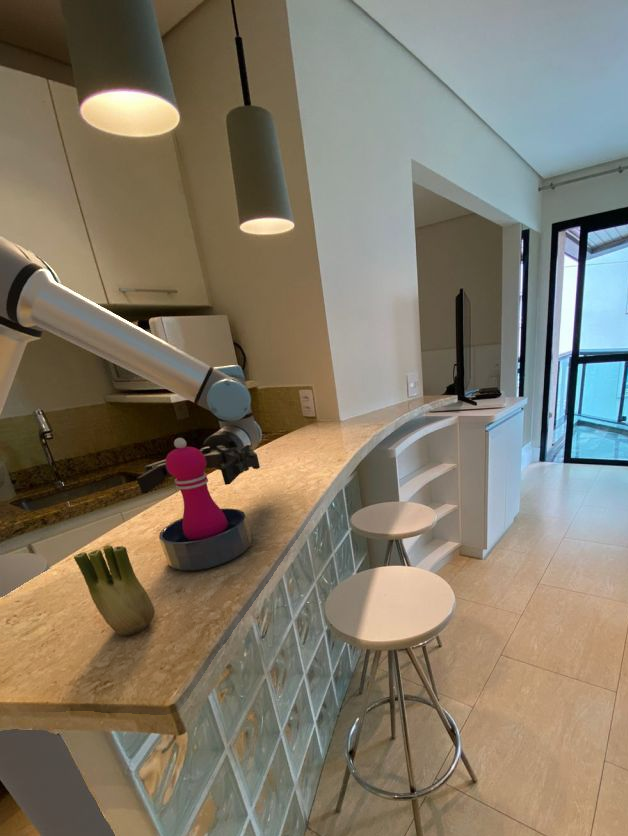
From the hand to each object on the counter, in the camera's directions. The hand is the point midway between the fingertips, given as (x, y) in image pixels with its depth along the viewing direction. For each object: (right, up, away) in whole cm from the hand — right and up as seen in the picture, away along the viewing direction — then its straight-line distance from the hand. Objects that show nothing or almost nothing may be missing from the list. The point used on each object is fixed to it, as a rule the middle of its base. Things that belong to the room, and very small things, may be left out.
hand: (183, 481), depth 65 cm
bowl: (+2, -12, +7) cm, 14 cm away
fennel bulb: (-1, -20, -11) cm, 23 cm away
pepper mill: (+2, -12, +7) cm, 14 cm away
